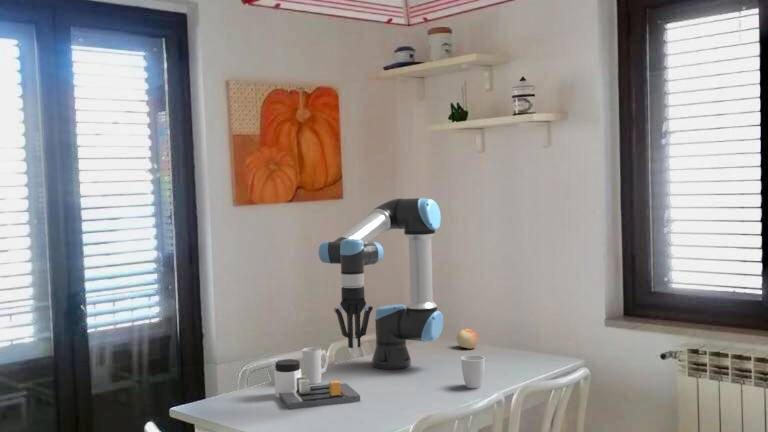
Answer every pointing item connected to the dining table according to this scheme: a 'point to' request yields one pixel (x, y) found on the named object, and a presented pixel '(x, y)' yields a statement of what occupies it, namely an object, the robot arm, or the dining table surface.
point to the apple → (467, 338)
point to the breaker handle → (334, 388)
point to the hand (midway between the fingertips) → (354, 357)
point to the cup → (473, 370)
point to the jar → (286, 376)
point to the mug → (313, 364)
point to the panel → (316, 395)
